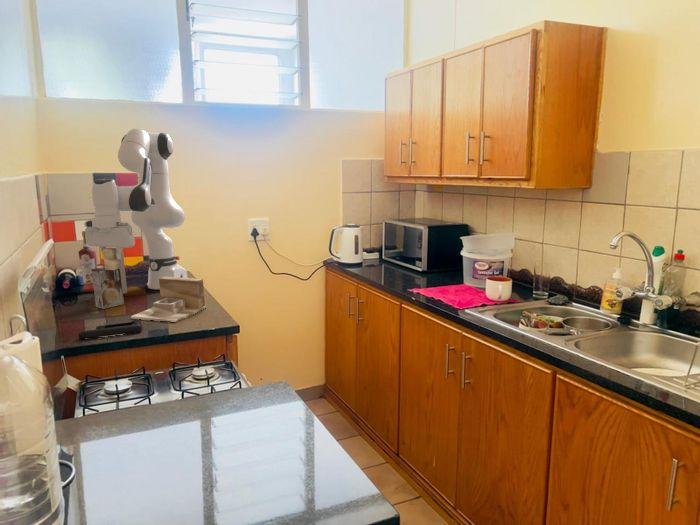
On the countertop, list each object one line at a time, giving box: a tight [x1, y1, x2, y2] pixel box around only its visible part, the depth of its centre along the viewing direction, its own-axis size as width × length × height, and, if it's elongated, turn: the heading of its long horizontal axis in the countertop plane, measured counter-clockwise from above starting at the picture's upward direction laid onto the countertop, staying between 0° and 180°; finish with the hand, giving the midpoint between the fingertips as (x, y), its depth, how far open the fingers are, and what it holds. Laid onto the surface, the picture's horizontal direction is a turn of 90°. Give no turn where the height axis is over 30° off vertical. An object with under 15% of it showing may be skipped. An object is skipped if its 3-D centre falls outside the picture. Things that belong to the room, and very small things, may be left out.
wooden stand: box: [130, 277, 207, 322], centre depth 207 cm, size 20×20×12 cm
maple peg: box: [102, 247, 121, 270], centre depth 202 cm, size 4×4×8 cm
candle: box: [120, 250, 128, 295], centre depth 236 cm, size 7×14×20 cm, turn 159°
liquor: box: [78, 230, 98, 293], centre depth 243 cm, size 7×7×28 cm
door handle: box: [77, 319, 143, 340], centre depth 187 cm, size 3×20×16 cm
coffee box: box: [91, 266, 125, 310], centre depth 219 cm, size 9×6×16 cm
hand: (112, 258), depth 202 cm, fingers closed on maple peg, 4 cm apart
